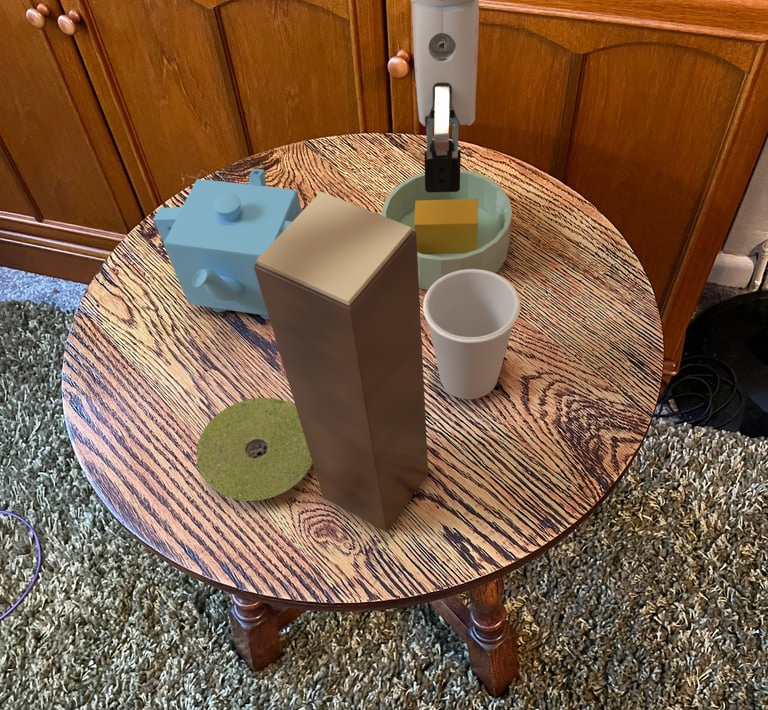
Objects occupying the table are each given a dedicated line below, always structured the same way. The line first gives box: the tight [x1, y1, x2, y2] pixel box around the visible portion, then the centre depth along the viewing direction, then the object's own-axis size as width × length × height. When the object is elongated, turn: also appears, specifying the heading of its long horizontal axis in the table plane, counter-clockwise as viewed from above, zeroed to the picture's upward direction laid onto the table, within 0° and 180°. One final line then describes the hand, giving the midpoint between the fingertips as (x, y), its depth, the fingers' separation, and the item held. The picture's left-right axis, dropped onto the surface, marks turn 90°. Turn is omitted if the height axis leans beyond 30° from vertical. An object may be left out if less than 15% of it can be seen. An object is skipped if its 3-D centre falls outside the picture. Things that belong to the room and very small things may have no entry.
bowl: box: [380, 168, 513, 291], centre depth 82 cm, size 13×13×4 cm
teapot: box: [152, 168, 303, 320], centre depth 78 cm, size 16×18×11 cm
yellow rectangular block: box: [414, 199, 478, 254], centre depth 81 cm, size 6×4×4 cm, turn 87°
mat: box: [195, 397, 313, 502], centre depth 72 cm, size 11×11×2 cm
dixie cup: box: [422, 269, 521, 400], centre depth 71 cm, size 8×8×10 cm
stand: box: [254, 191, 429, 533], centre depth 58 cm, size 7×7×28 cm
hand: (443, 154), depth 74 cm, fingers open, 9 cm apart
